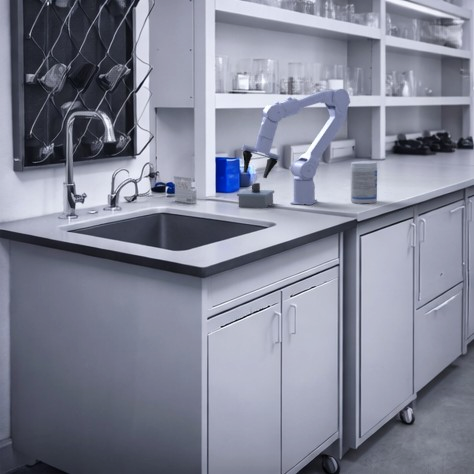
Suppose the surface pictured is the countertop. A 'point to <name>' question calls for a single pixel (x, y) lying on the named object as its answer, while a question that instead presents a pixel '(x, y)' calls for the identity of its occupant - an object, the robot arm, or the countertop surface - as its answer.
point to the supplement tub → (363, 182)
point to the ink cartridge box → (184, 190)
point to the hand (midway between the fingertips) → (254, 175)
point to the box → (255, 201)
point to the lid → (256, 191)
